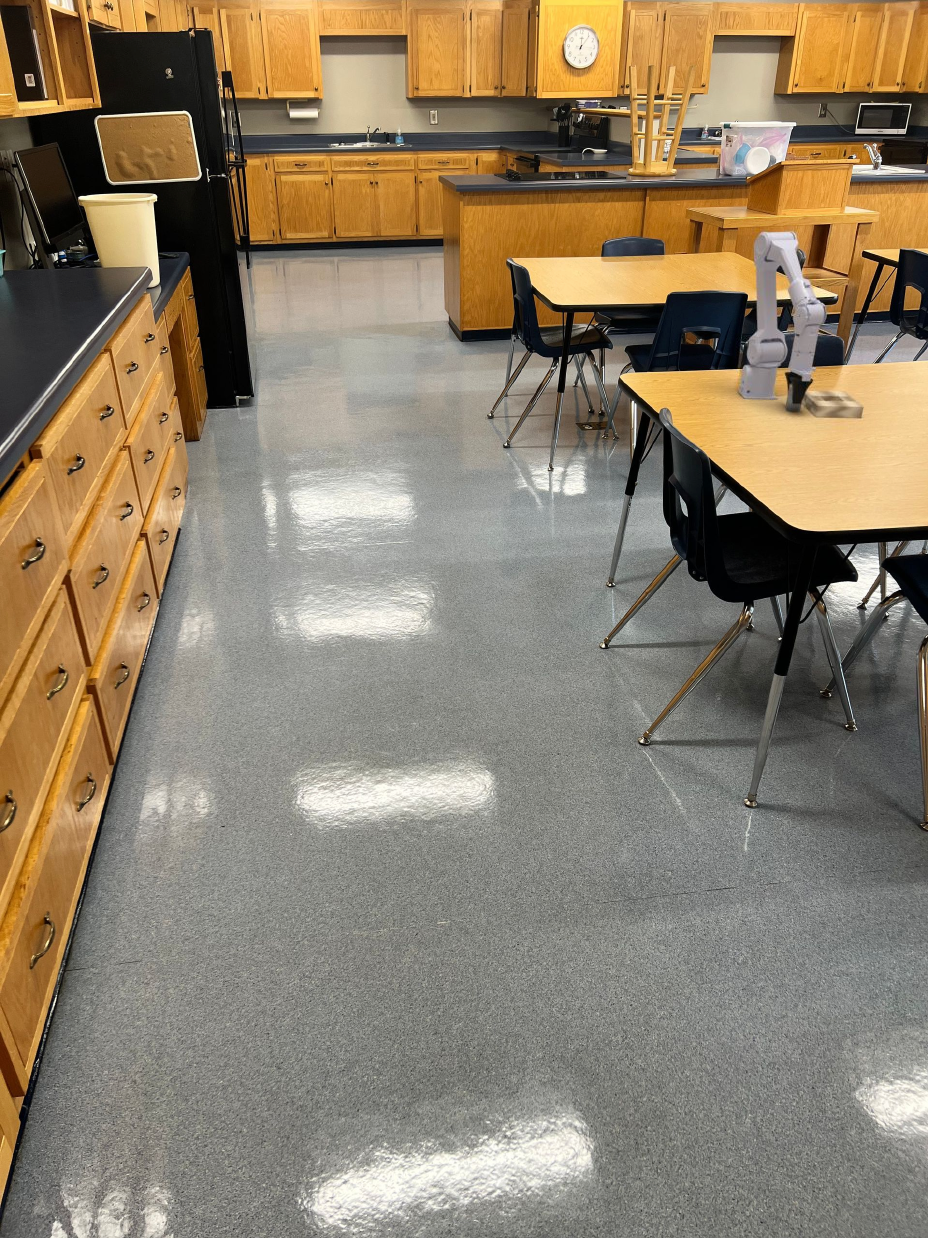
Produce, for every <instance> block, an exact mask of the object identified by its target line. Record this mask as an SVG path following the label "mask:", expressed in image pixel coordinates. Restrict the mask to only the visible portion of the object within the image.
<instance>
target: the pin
mask: <svg viewBox="0 0 928 1238" xmlns="http://www.w3.org/2000/svg"><path fill="white" fill-rule="evenodd" d="M786 397H787V398H786V402H785V408H784V409H785V410H784V411H786V412H790V413H798V412H801V409H802V405H803V404H802V402H801V404H793V403H792V383H790V385H789V390H788V389H787V396H786Z"/></svg>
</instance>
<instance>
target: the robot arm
mask: <svg viewBox="0 0 928 1238" xmlns="http://www.w3.org/2000/svg"><path fill="white" fill-rule="evenodd" d="M798 248H799V241H798V237H797V234H796V233H795V232H794V231H791V230H789V231H776V232H775V231H774V232H773V231H771V232H766V231H762V232H760V233H759V234H758V236H757V237H756V239H755V241H754V243H753V259H754V261H753V262H754V263H753V265H754V266H755V280H756V281H755V283H756V287H755V288H756V289H755V290H756V320H757V321H756V322H757V327H756V328H757V330H756V331H755V333H754V334H753V335H752V336H750V337H749V339H748V347H747V349H746V350H747V351H746V356H747V360H748V362H749V364H744V366H743V367H742V370H741V377H740V382H739V390H738V393H739V395H740V396H741V397H742V398H743V399H745V400H753V399H754V400H777V399H778V397H777V396H776V395H775V393H774V392H775V386H776V381H777V374H778V370H779V369H778V368H779V367H780V366H781V365H782V363H783V362H784V361H785V360H786V357H787V355H788V346H787V343H786V338H785V337H786V335H785V334H784V333H783V332H782V331H781V330H779V329H778V311H777V310H778V308H777V306H778V305H777V303H778V301H777V299H778V298H777V269H778V268H779V267H780V266H781V268H782V270H783V272H784V274H785V276H786V278H787V280H788V282H789V286H788V288H787V292H788V295H789V298H790V300H791V302H792V303H791V304H792V306H793V308H794V313H793V316H792V318H793V319H792V320H793V321H792V322H793V325H794V327H793V332H794V333H795V334H794V339H793V343H792V349H791V356H790V361H789V364H788V367H787V369H788V371H786V372H784V376H785V379H786V380H785V381H786V385H787V391H788V390H789V385H790V383H792V403H793V404H801V402H802V400H803V397H804V395H805V393H806V391H808V388H810V386H811V385H812V384H813V383H814V379H813V378H812V372H816V370H817V368H816V367H815V366H813V363H814V358H815V357H814V356H815V352H816V346H817V341H818V336H819V331H820V327H821V326H823V325H824V324H825V322H826V319H827V312H828V311H827V309H826V305H825V304H824V303H823V302H821V301H820V300H819V299H817V297H816V295H815V292H814V289H813V287H812V284H811V281H810V280H809V279H808V278H807V279H806V278H804V275H803V272H802V269H801V265H800V261H799V258H798V254H797V251H798ZM801 405H802V404H801Z"/></svg>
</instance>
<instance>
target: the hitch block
mask: <svg viewBox="0 0 928 1238" xmlns="http://www.w3.org/2000/svg"><path fill="white" fill-rule="evenodd" d="M801 405H803V406H804V407H805V408H806V409H807V410H808V411H809V412H810V413H812V415H813V416H814V417H815V418H842V419H843V418H845V419H846V418H847V419H862V418H863V417H862V416H863V411H864V408H865V407H864V406H863V405H862V404H861V403H859V402H858V401H857V400H856V399H855V398H854V397H852V396H851V395H850V394H849V393H848V392H846V391H841V390H840V391H838V390H836V391H835V390H833V391H831V390H807V391H806V393H805V395H804V397H803V400H802V404H801Z"/></svg>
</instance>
